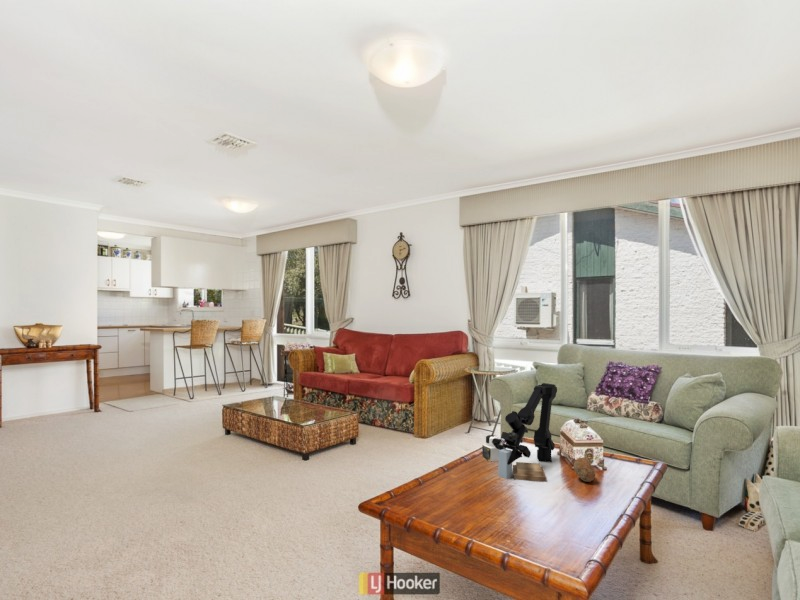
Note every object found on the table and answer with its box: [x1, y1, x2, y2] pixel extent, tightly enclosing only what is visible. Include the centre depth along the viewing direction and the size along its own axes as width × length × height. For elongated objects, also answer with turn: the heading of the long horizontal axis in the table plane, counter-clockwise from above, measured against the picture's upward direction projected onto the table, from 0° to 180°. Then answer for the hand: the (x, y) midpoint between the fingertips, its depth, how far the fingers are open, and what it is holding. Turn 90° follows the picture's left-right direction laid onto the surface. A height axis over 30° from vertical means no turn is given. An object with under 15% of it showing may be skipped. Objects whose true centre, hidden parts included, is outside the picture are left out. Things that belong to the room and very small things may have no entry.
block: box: [497, 448, 513, 480], centre depth 215 cm, size 4×4×12 cm
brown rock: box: [573, 456, 596, 483], centre depth 211 cm, size 10×13×10 cm
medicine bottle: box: [482, 434, 499, 463], centre depth 239 cm, size 7×7×12 cm
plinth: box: [512, 461, 547, 483], centre depth 216 cm, size 14×14×4 cm
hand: (503, 463), depth 214 cm, fingers closed on block, 4 cm apart
